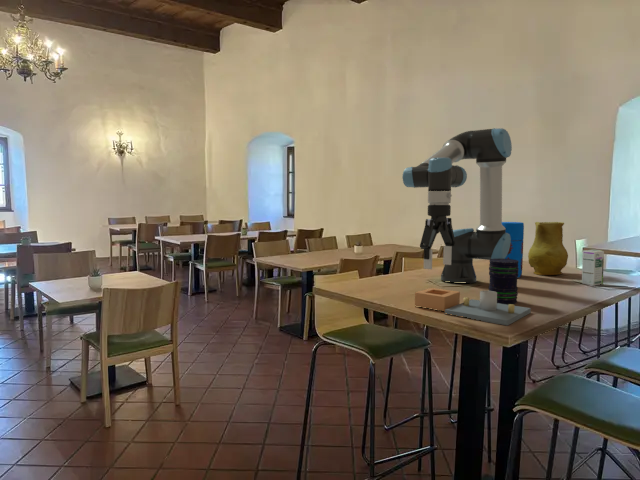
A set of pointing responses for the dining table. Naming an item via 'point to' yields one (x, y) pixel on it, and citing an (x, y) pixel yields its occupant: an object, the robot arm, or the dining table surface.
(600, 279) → the syrup box
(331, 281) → the dining table surface
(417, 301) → the square frame
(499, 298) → the storage jar
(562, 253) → the yellow rounded vessel
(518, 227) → the thermos
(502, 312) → the post board
